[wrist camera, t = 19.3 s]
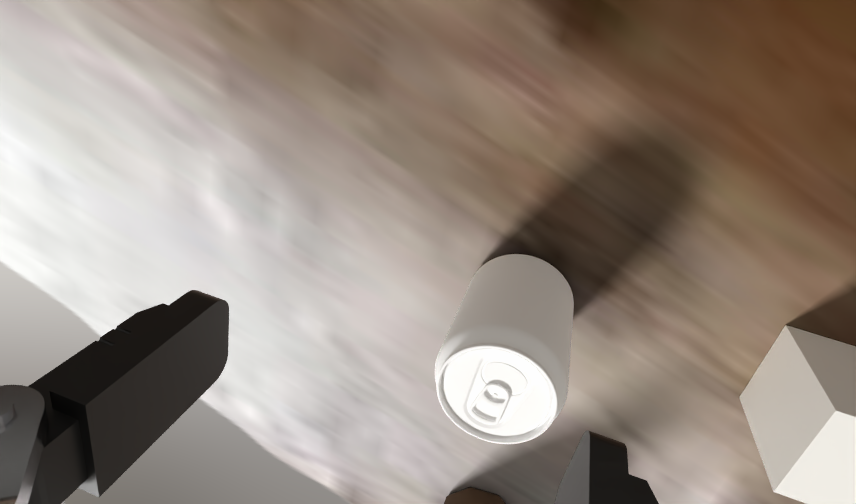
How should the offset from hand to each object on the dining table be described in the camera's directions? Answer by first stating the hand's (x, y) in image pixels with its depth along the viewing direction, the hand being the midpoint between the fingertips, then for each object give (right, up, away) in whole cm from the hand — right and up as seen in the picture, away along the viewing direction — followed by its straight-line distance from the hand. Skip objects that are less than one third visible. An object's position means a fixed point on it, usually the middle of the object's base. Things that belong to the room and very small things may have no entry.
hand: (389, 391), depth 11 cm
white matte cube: (+28, -6, +26) cm, 39 cm away
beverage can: (+8, 0, +30) cm, 31 cm away
